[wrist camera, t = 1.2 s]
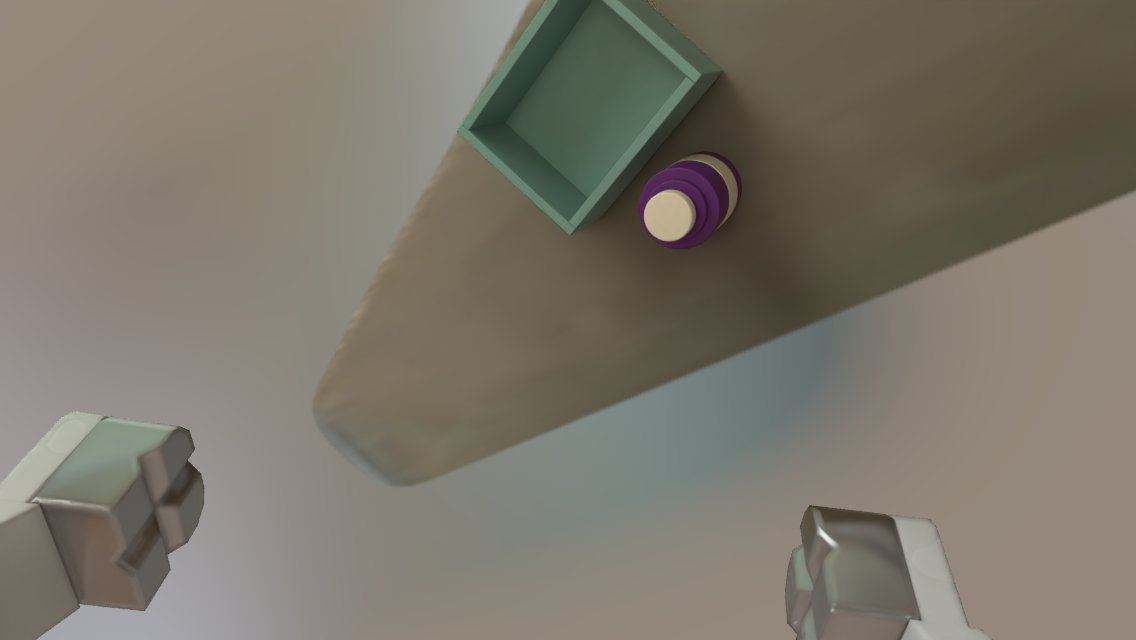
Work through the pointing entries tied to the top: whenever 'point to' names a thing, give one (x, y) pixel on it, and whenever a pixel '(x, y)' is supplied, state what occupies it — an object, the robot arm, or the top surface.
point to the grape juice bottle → (689, 200)
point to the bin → (586, 103)
